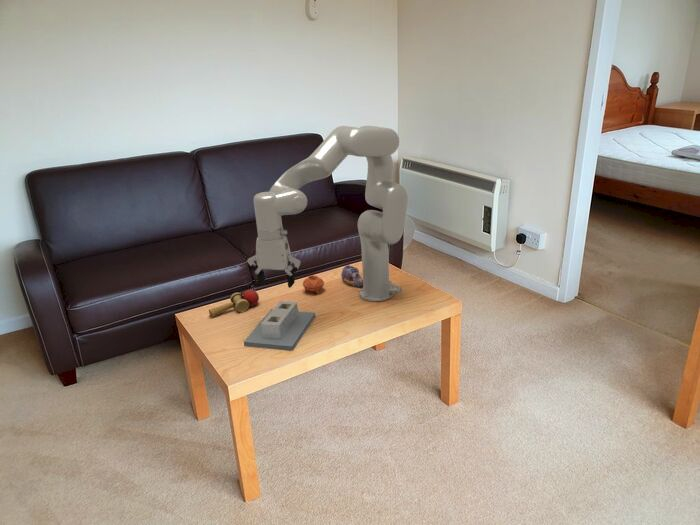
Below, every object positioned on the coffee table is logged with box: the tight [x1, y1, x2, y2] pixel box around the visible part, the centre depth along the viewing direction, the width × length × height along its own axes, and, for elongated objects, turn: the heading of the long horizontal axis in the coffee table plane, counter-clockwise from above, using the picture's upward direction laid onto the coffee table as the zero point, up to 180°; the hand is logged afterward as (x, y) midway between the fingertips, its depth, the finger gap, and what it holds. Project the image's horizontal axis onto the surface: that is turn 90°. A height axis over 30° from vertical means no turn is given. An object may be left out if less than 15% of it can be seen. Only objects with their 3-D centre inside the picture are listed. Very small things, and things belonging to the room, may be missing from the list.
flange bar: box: [261, 300, 299, 340], centre depth 167 cm, size 16×6×5 cm, turn 165°
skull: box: [340, 265, 363, 288], centre depth 199 cm, size 12×8×6 cm, turn 26°
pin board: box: [243, 308, 316, 352], centre depth 168 cm, size 16×22×5 cm
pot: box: [302, 274, 325, 295], centre depth 194 cm, size 8×8×7 cm
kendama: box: [208, 289, 260, 318], centre depth 183 cm, size 8×6×18 cm
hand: (276, 284), depth 163 cm, fingers open, 9 cm apart
